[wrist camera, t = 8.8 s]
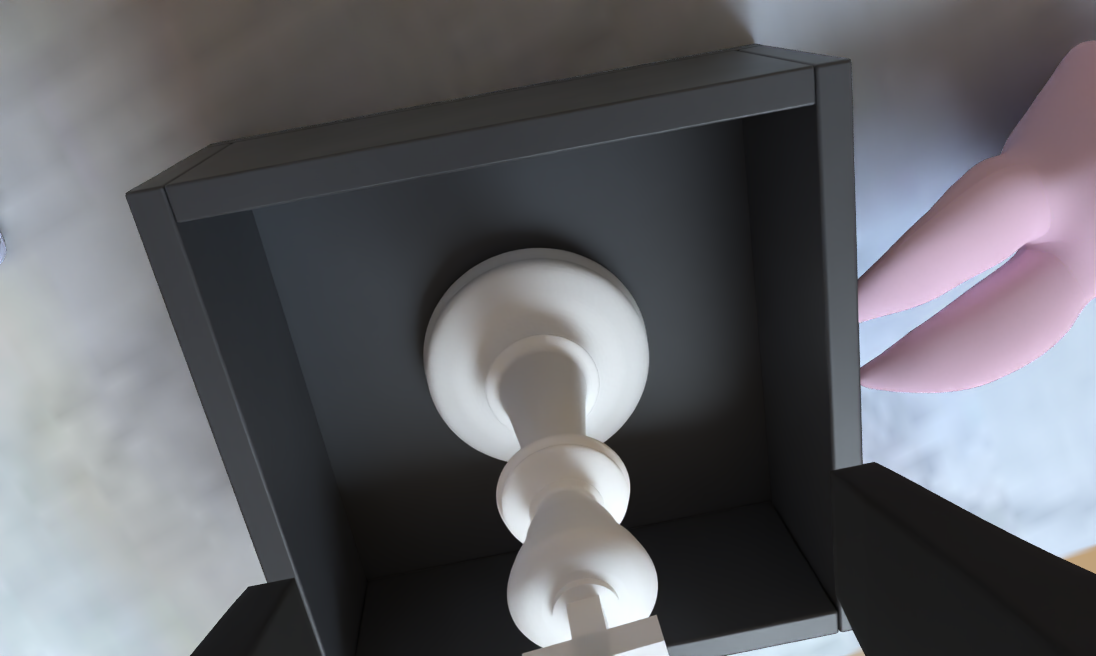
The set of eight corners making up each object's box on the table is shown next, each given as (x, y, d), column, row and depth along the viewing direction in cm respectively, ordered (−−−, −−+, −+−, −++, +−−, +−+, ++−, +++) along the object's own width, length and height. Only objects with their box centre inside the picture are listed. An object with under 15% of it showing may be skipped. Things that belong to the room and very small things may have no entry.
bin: (351, 590, 21) (322, 738, 17) (208, 144, 17) (122, 193, 12) (788, 504, 21) (868, 628, 17) (757, 43, 17) (853, 57, 13)
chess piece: (391, 285, 18) (307, 610, 8) (617, 218, 17) (787, 469, 8) (463, 477, 19) (462, 918, 10) (667, 417, 19) (854, 806, 10)
